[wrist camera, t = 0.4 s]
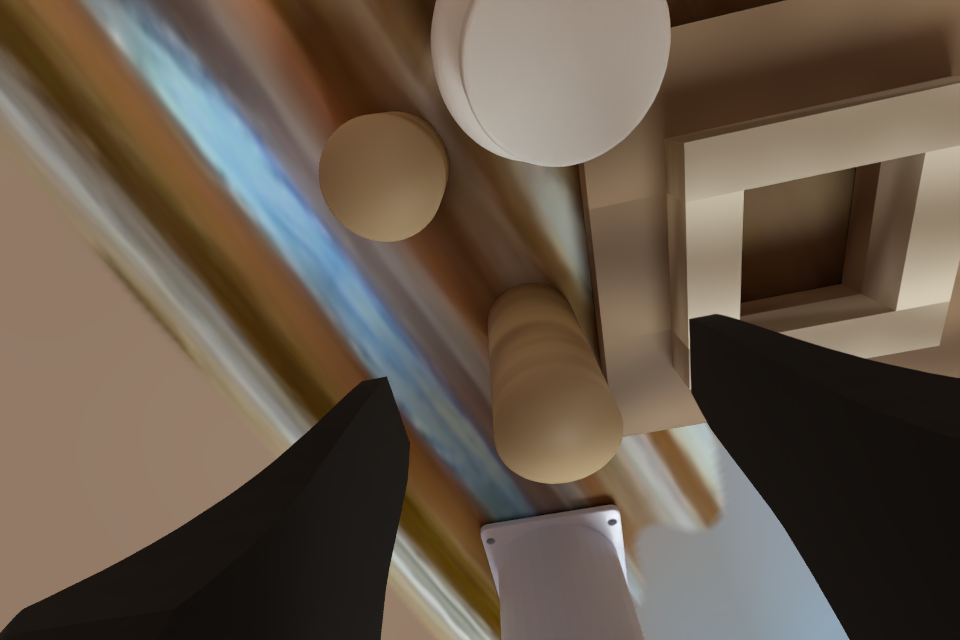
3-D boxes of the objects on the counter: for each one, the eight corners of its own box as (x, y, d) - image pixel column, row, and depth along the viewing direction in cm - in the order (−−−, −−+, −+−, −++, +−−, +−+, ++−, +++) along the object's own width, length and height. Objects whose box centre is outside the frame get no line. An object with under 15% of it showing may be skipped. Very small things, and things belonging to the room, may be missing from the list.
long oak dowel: (578, 352, 22) (628, 472, 15) (496, 367, 23) (506, 492, 15) (567, 274, 21) (618, 368, 13) (479, 292, 21) (482, 393, 14)
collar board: (933, 366, 23) (995, 402, 20) (607, 423, 24) (624, 464, 21) (1035, -57, 16) (1152, -91, 13) (565, 54, 17) (582, 45, 14)
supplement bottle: (550, 132, 19) (621, 232, 11) (420, 84, 18) (392, 155, 10) (614, -25, 16) (777, -48, 8) (465, -95, 15) (479, -208, 7)
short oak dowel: (459, 204, 19) (456, 228, 16) (367, 224, 20) (342, 252, 16) (435, 100, 18) (425, 100, 14) (335, 123, 18) (300, 130, 14)
